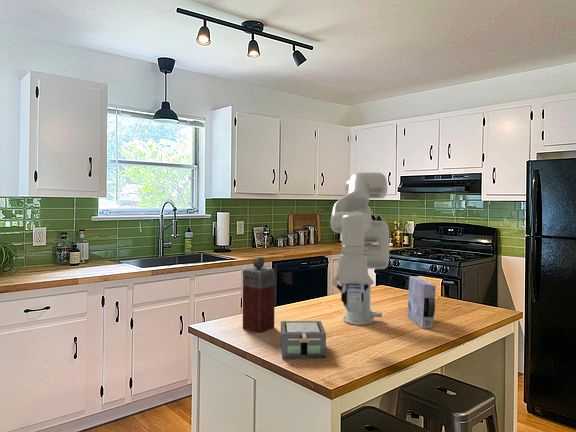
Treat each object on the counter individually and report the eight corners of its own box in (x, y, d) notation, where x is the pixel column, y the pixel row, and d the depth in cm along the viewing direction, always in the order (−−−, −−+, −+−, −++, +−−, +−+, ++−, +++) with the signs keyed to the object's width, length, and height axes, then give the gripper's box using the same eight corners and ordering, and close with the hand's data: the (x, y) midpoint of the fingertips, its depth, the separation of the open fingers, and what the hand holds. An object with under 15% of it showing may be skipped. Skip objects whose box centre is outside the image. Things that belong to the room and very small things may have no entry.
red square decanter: (253, 322, 180) (253, 254, 179) (274, 327, 173) (275, 256, 172) (238, 327, 173) (238, 256, 172) (259, 333, 166) (260, 259, 165)
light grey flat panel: (316, 325, 153) (316, 322, 153) (321, 339, 139) (321, 335, 139) (285, 326, 153) (285, 322, 153) (287, 339, 139) (287, 335, 138)
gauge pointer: (308, 341, 140) (308, 338, 140) (309, 342, 139) (309, 339, 139) (299, 341, 140) (299, 338, 140) (299, 342, 139) (299, 339, 139)
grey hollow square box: (320, 343, 155) (320, 320, 155) (325, 358, 141) (326, 333, 141) (280, 343, 155) (280, 321, 154) (282, 358, 140) (282, 334, 140)
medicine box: (343, 305, 154) (343, 281, 154) (355, 305, 155) (356, 280, 154) (348, 312, 147) (348, 286, 146) (361, 312, 147) (361, 286, 146)
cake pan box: (435, 330, 172) (436, 284, 171) (423, 330, 171) (424, 285, 171) (417, 316, 191) (418, 275, 190) (406, 316, 191) (407, 275, 190)
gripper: (374, 248, 153) (374, 300, 155) (326, 249, 153) (326, 301, 154) (380, 252, 146) (379, 306, 147) (329, 252, 145) (329, 307, 147)
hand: (352, 303), depth 151 cm, fingers closed on medicine box, 4 cm apart
